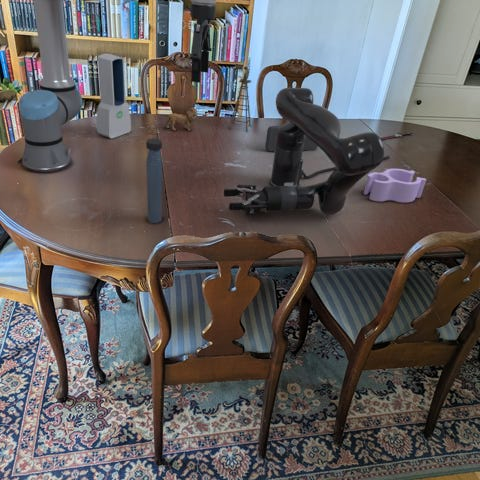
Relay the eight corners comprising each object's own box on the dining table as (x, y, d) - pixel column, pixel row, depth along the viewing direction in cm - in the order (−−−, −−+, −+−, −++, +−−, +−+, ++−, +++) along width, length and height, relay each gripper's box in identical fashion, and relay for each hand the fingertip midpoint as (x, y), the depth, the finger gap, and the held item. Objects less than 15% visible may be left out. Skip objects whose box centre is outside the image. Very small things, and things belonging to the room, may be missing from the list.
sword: (407, 132, 223) (408, 129, 223) (413, 134, 221) (413, 131, 221) (364, 143, 208) (365, 141, 207) (370, 146, 206) (370, 143, 205)
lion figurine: (195, 126, 204) (195, 105, 199) (198, 130, 200) (199, 109, 195) (161, 127, 199) (161, 106, 194) (164, 131, 195) (164, 110, 190)
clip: (376, 205, 156) (381, 186, 152) (357, 188, 166) (361, 170, 162) (425, 200, 162) (431, 182, 159) (404, 184, 172) (409, 167, 168)
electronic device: (109, 139, 182) (104, 59, 166) (96, 134, 185) (89, 55, 169) (132, 131, 192) (129, 55, 175) (118, 127, 195) (114, 51, 178)
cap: (150, 143, 126) (150, 137, 125) (164, 146, 125) (164, 140, 124) (143, 148, 123) (143, 142, 122) (157, 151, 122) (157, 145, 121)
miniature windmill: (247, 131, 204) (254, 60, 188) (228, 128, 205) (234, 57, 189) (250, 125, 212) (258, 55, 196) (232, 122, 213) (238, 53, 197)
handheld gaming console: (315, 147, 196) (319, 124, 190) (317, 149, 194) (322, 126, 188) (264, 149, 189) (267, 125, 183) (266, 152, 187) (269, 127, 181)
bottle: (151, 214, 138) (150, 138, 125) (164, 217, 137) (164, 141, 124) (145, 221, 134) (143, 143, 122) (157, 224, 134) (157, 146, 121)
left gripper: (208, 10, 129) (204, 88, 140) (222, 1, 149) (217, 69, 161) (181, 6, 129) (179, 84, 140) (199, -2, 150) (196, 66, 161)
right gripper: (274, 176, 144) (223, 177, 141) (287, 198, 133) (232, 199, 129) (271, 198, 148) (221, 199, 145) (284, 221, 137) (230, 223, 133)
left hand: (199, 76), depth 151 cm, fingers open, 13 cm apart
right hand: (226, 199), depth 137 cm, fingers open, 8 cm apart
